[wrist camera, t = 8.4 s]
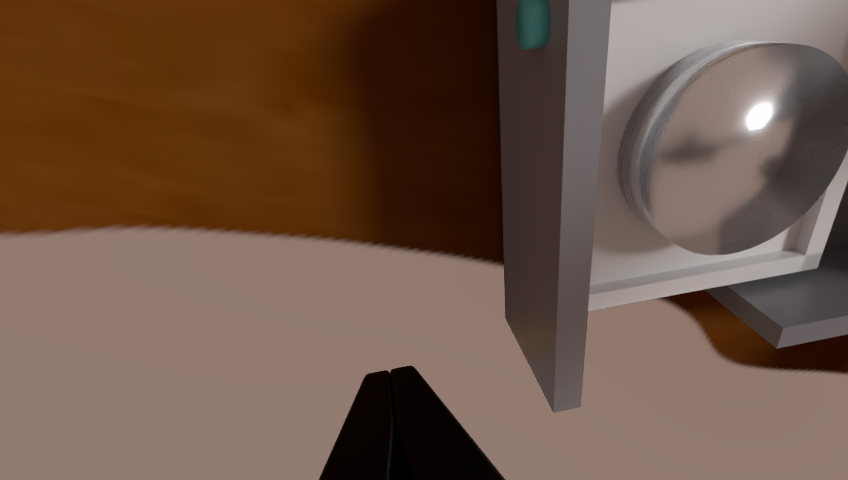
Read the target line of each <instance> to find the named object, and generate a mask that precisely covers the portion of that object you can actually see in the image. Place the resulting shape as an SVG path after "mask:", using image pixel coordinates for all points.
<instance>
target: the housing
mask: <svg viewBox="0 0 848 480" xmlns="http://www.w3.org/2000/svg"><path fill="white" fill-rule="evenodd" d="M704 290H705V291H706V292H707V293H709V294H710V295H711V296H712V297H714V298H715V299H716V300H717V301H719V302H720V303H721V304H722V305H723V306H725V307H726V308H727V309H728V310H730V311H731V312H732V313H733V314H735V315H736V316H737V317H738V318H739V319H741V320H742V321H743V322H744V323H746V324H747V325H748V326H749V327H751V328H752V329H753V330H754V331H755V332H757V333H758V334H759V335H760V336H762V337H763V338H764V339H765V340H767V341H768V342H769V343H770V344H771V345H773V346H774V347H775V348H776V349H777V348H782V347H787V346H792V345H797V344H802V343H807V342H812V341H817V340H822V339H827V338H832V337H837V336H842V335H847V334H848V182H847V184H846V187H845V190H844V193H843V196H842V199H841V202H840V205H839V207H838V210H837V213H836V216H835V219H834V222H833V225H832V228H831V230H830V233H829V236H828V239H827V242H826V245H825V248H824V251H823V253H822V256H821V259H820V262H819V265H818V268H816V269H810V270H805V271H800V272H795V273H789V274H784V275H779V276H773V277H768V278H763V279H757V280H752V281H747V282H741V283H736V284H731V285H725V286H720V287H715V288H709V289H704Z"/></svg>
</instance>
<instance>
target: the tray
mask: <svg viewBox="0 0 848 480" xmlns="http://www.w3.org/2000/svg"><path fill="white" fill-rule="evenodd" d="M497 30H498V66H499V102H500V138H501V174H502V209H503V245H504V281H505V314H506V320H507V322H508V324H509V326H510V328H511V330H512V332H513V334H514V335H515V338H516V340H517V342H518V344H519V346H520V348H521V349H522V352H523V354H524V356H525V358H526V359H527V361H528V363H529V365H530V367H531V369H532V371H533V373H534V375H535V377H536V379H537V381H538V383H539V385H540V387H541V389H542V391H543V393H544V395H545V397H546V399H547V401H548V403H549V405H550V407H551V409H552V411H553V412H559V411H564V410H569V409H573V408H578V407H581V395H582V382H583V381H582V380H583V369H584V355H585V342H586V329H587V316H588V311H592V310H597V309H602V308H608V307H613V306H619V305H624V304H629V303H635V302H640V301H645V300H651V299H656V298H661V297H667V296H672V295H677V294H683V293H688V292H693V291H699V290H704V289H709V288H715V287H720V286H725V285H731V284H736V283H741V282H747V281H752V280H757V279H763V278H768V277H773V276H779V275H784V274H789V273H795V272H800V271H805V270H810V269H816V268H818V265H819V262H820V259H821V256H822V253H823V251H824V248H825V245H826V242H827V239H828V236H829V233H830V230H831V228H832V225H833V222H834V219H835V216H836V213H837V210H838V207H839V205H840V202H841V199H842V196H843V193H844V190H845V187H846V184H847V182H848V150H847V153H846V155H845V157H844V160H843V162H842V164H841V166H840V168H839V170H838V171H837V173H836V175H835V177H834V178H833V180H832V181H831V183H830V184H829V186H828V187H827V189H826V190H825V192H824V193H823V194H822V195H821V197H820V198H819V199H818V200H817V201H816V203H815V204H814V205H813V206H812V207H811V208H810V209H809V210H808V211H807V212H806V213H805V214H804V215H803V216H802V217H801V218H799V219H798V220H797V221H796V222H795V223H794V224H792V225H791V226H790V227H788V228H787V229H786V230H784V231H783V232H781V233H780V234H778V235H777V236H775V237H773V238H772V239H770V240H768V241H766V242H764V243H762V244H760V245H758V246H755V247H753V248H750V249H747V250H744V251H741V252H737V253H732V254H727V255H702V254H698V253H693V252H691V251H688V250H685V249H683V248H681V247H680V246H678V245H676V244H675V243H673V242H672V241H671V240H669V239H668V238H667V237H665V236H664V235H662V234H661V233H660V232H658V231H657V230H655V229H654V228H653V227H651V226H650V225H648V224H647V223H646V222H644V221H643V220H642V219H641V218H639V217H638V216H637V215H636V214H635V213H634V212H633V210H632V209H631V208H630V207H629V205H628V203H627V202H626V200H625V198H624V195H623V192H622V190H621V186H620V181H619V171H618V162H619V152H620V147H621V142H622V139H623V136H624V133H625V130H626V127H627V124H628V122H629V120H630V118H631V116H632V114H633V112H634V110H635V108H636V107H637V105H638V103H639V102H640V100H641V99H642V97H643V96H644V95H645V93H646V92H647V91H648V89H649V88H650V87H651V86H652V85H653V84H654V83H655V81H656V80H657V79H658V78H659V77H660V76H661V75H662V74H663V73H664V72H666V71H667V70H668V69H669V68H670V67H671V66H673V65H674V64H675V63H677V62H678V61H680V60H681V59H682V58H684V57H686V56H687V55H689V54H691V53H693V52H694V51H696V50H698V49H701V48H703V47H705V46H708V45H711V44H714V43H718V42H721V41H727V40H734V39H748V40H759V41H770V42H781V43H792V44H801V45H806V46H812V47H815V48H817V49H820V50H822V51H824V52H826V53H827V54H829V55H830V56H832V57H833V58H834V59H835V60H836V61H837V62H838V63H839V64H840V65H841V66H842V67H843V69H844V70H845V72H846V73H847V75H848V0H497Z"/></svg>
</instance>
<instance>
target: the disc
mask: <svg viewBox="0 0 848 480" xmlns="http://www.w3.org/2000/svg"><path fill="white" fill-rule="evenodd" d="M847 150H848V75H847V73H846V72H845V70H844V69H843V67H842V66H841V65H840V64H839V63H838V62H837V61H836V60H835V59H834V58H833V57H832V56H830V55H829V54H827V53H826V52H824V51H822V50H820V49H817V48H815V47H812V46H806V45H801V44H792V43H781V42H770V41H759V40H748V39H734V40H727V41H721V42H718V43H714V44H711V45H708V46H705V47H703V48H701V49H698V50H696V51H694V52H693V53H691V54H689V55H687V56H686V57H684V58H682V59H681V60H680V61H678V62H677V63H675V64H674V65H673V66H671V67H670V68H669V69H668V70H667V71H666V72H664V73H663V74H662V75H661V76H660V77H659V78H658V79H657V80H656V81H655V83H654V84H653V85H652V86H651V87H650V88H649V89H648V91H647V92H646V93H645V95H644V96H643V97H642V99H641V100H640V102H639V103H638V105H637V107H636V108H635V110H634V112H633V114H632V116H631V118H630V120H629V122H628V124H627V127H626V130H625V133H624V136H623V139H622V142H621V147H620V152H619V162H618V171H619V181H620V186H621V190H622V192H623V195H624V198H625V200H626V202H627V203H628V205H629V207H630V208H631V209H632V210H633V212H634V213H635V214H636V215H637V216H638V217H639V218H641V219H642V220H643V221H644V222H646V223H647V224H648V225H650V226H651V227H653V228H654V229H655V230H657V231H658V232H660V233H661V234H662V235H664V236H665V237H667V238H668V239H669V240H671V241H672V242H673V243H675V244H676V245H678V246H680V247H681V248H683V249H685V250H688V251H691V252H693V253H698V254H702V255H727V254H732V253H737V252H741V251H744V250H747V249H750V248H753V247H755V246H758V245H760V244H762V243H764V242H766V241H768V240H770V239H772V238H773V237H775V236H777V235H778V234H780V233H781V232H783V231H784V230H786V229H787V228H788V227H790V226H791V225H792V224H794V223H795V222H796V221H797V220H798V219H799V218H801V217H802V216H803V215H804V214H805V213H806V212H807V211H808V210H809V209H810V208H811V207H812V206H813V205H814V204H815V203H816V201H817V200H818V199H819V198H820V197H821V195H822V194H823V193H824V192H825V190H826V189H827V187H828V186H829V184H830V183H831V181H832V180H833V178H834V177H835V175H836V173H837V171H838V170H839V168H840V166H841V164H842V162H843V160H844V157H845V155H846V153H847Z"/></svg>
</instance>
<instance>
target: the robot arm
mask: <svg viewBox="0 0 848 480" xmlns="http://www.w3.org/2000/svg"><path fill="white" fill-rule="evenodd" d="M319 480H505V479H504V477H503V476H502V475H501V474H500V473H499V471H498V470H497V469H496V468H495V466H494V465H493V464H492V463H491V462H490V460H489V459H488V458H487V457H486V455H485V454H484V453H483V452H482V450H481V449H480V448H479V447H478V445H477V444H476V443H475V442H474V440H473V439H472V438H471V437H470V435H469V434H468V433H467V432H466V430H465V429H464V428H463V427H462V426H461V424H460V423H459V422H458V421H457V419H456V418H455V417H454V416H453V414H452V413H451V412H450V411H449V409H448V408H447V407H446V406H445V405H444V403H443V402H442V401H441V400H440V398H439V397H438V396H437V395H436V393H435V392H434V391H433V390H432V388H431V387H430V386H429V385H428V384H427V382H426V381H425V380H424V379H423V378H422V376H421V375H420V374H419V372H418V371H417V370H416V369H415V368H414V367H413V366H406V367H401V368H395V369H392V370H391V372H390V373H389V372H388V371H386V370H385V371H380V372H374V373H369V374H367V375H366V376H365V378H364V379H363V382H362V384H361V386H360V388H359V391H358V393H357V395H356V397H355V400H354V402H353V404H352V407H351V409H350V411H349V413H348V415H347V418H346V420H345V422H344V424H343V427H342V429H341V431H340V433H339V436H338V438H337V440H336V442H335V445H334V447H333V449H332V451H331V454H330V456H329V458H328V460H327V463H326V465H325V467H324V469H323V471H322V474H321V476H320V478H319Z"/></svg>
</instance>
